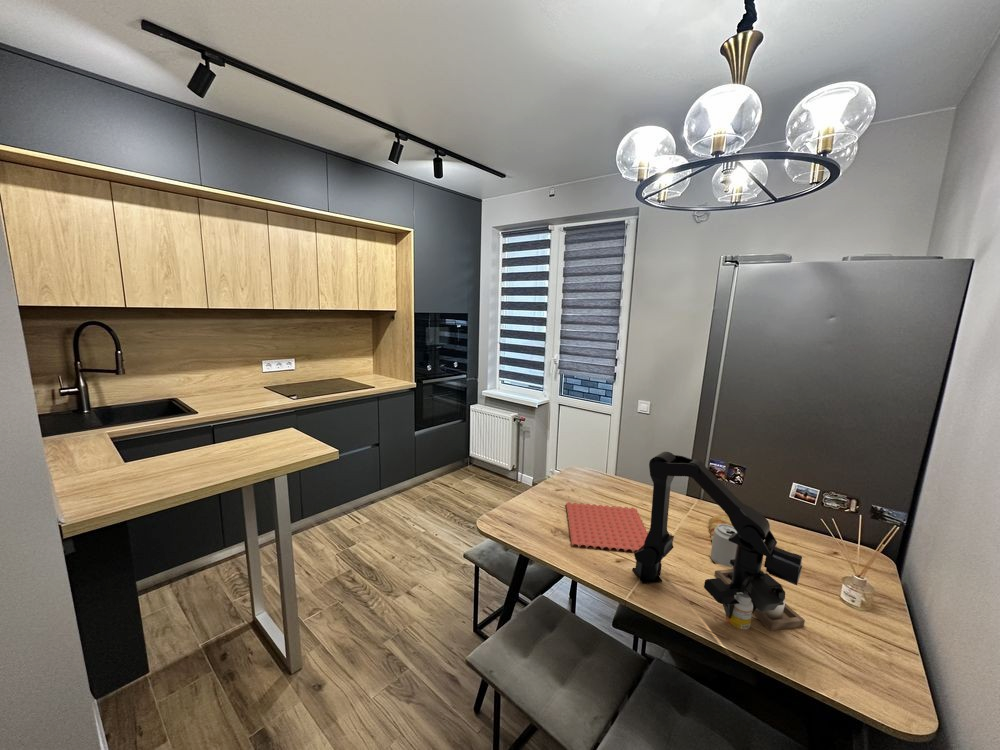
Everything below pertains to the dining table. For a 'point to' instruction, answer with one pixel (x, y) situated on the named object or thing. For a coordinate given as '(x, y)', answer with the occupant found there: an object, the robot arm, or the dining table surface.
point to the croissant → (717, 523)
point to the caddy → (787, 621)
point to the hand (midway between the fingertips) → (738, 616)
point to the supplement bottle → (742, 612)
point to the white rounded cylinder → (776, 612)
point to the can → (723, 545)
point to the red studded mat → (605, 526)
